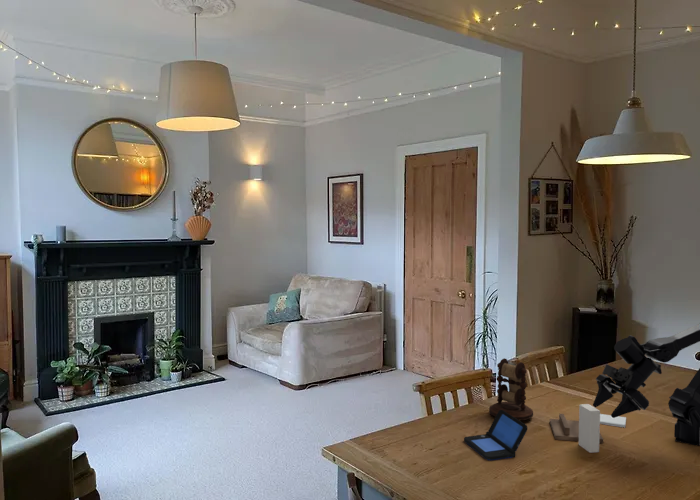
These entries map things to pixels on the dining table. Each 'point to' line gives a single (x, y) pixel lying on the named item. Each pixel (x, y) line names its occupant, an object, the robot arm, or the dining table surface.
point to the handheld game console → (499, 438)
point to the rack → (566, 429)
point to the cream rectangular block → (589, 427)
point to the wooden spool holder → (511, 391)
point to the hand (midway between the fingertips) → (602, 411)
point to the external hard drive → (612, 420)
